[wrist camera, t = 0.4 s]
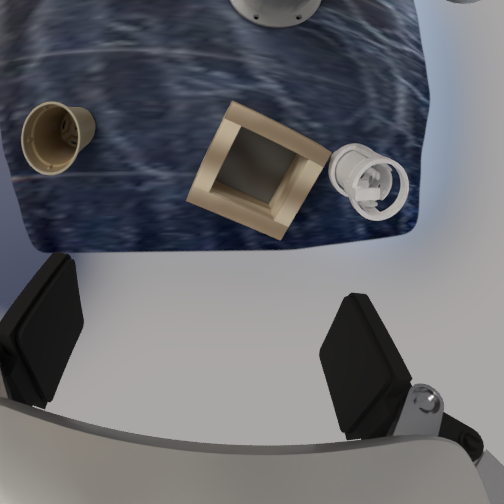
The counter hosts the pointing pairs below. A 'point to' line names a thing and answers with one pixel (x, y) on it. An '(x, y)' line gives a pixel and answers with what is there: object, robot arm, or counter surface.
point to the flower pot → (55, 136)
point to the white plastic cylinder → (366, 179)
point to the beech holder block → (257, 171)
